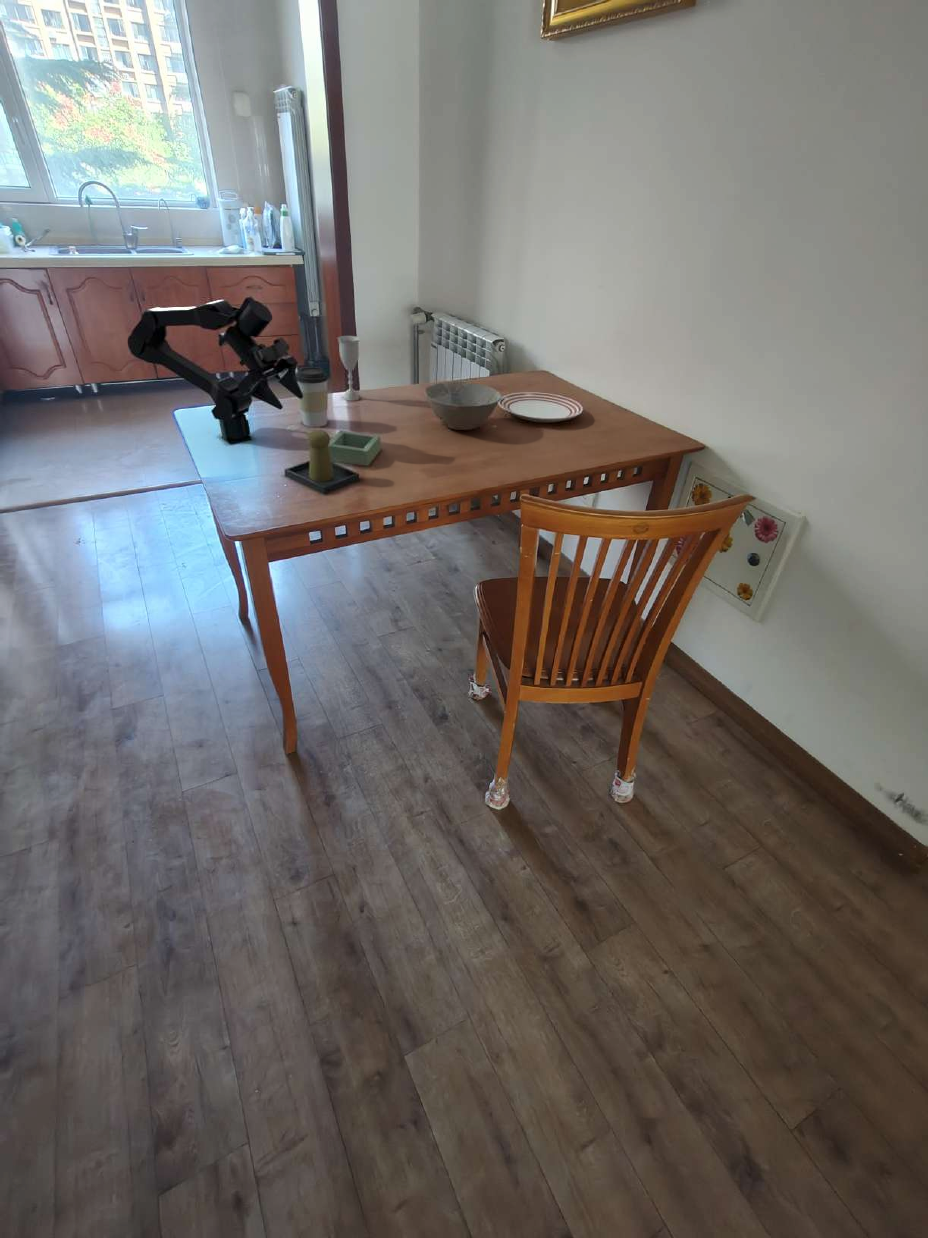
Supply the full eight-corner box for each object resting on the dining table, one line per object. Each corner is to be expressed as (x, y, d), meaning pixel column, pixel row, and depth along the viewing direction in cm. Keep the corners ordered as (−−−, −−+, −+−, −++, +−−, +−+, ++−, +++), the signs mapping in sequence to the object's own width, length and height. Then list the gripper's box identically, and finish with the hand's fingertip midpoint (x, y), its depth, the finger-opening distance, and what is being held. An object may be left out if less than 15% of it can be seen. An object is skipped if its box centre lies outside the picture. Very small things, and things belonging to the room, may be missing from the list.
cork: (338, 473, 146) (335, 429, 139) (327, 483, 141) (323, 438, 135) (316, 468, 147) (312, 425, 140) (304, 478, 142) (299, 433, 136)
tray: (284, 475, 144) (284, 469, 143) (320, 462, 151) (319, 456, 150) (324, 494, 138) (324, 487, 137) (359, 480, 145) (359, 473, 144)
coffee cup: (313, 430, 168) (308, 375, 159) (292, 422, 172) (286, 368, 163) (337, 422, 174) (333, 369, 165) (316, 414, 178) (311, 362, 169)
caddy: (326, 460, 153) (324, 445, 150) (341, 444, 162) (340, 430, 159) (367, 466, 152) (367, 451, 149) (380, 450, 160) (380, 435, 158)
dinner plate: (480, 408, 193) (480, 398, 191) (536, 395, 208) (537, 385, 206) (542, 435, 178) (544, 424, 176) (598, 418, 193) (600, 408, 191)
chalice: (344, 393, 196) (340, 334, 185) (364, 395, 195) (362, 336, 184) (338, 400, 190) (334, 340, 179) (358, 402, 190) (356, 342, 179)
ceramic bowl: (513, 429, 180) (517, 396, 174) (459, 446, 166) (461, 410, 160) (462, 408, 192) (465, 376, 185) (408, 422, 178) (408, 388, 172)
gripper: (240, 335, 132) (288, 393, 137) (286, 320, 147) (329, 374, 151) (217, 366, 139) (263, 421, 143) (263, 349, 153) (305, 400, 157)
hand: (292, 403), depth 148 cm, fingers open, 9 cm apart
